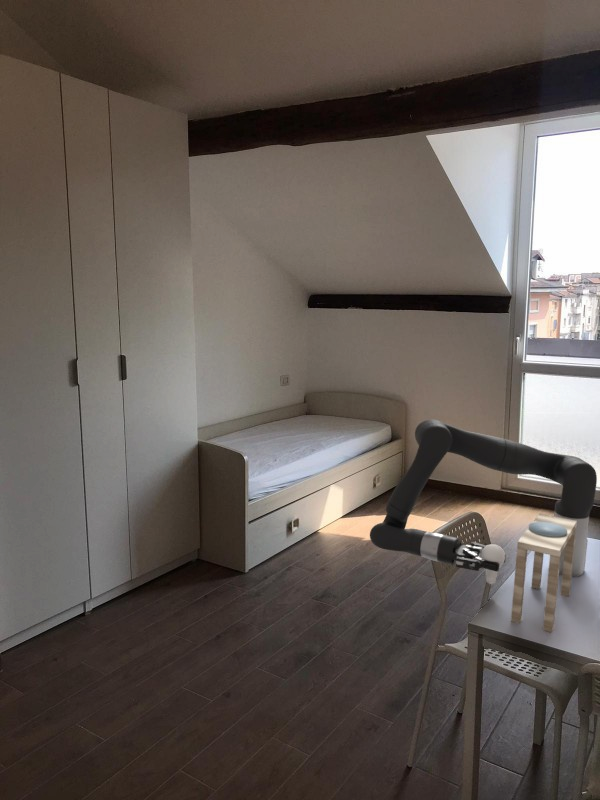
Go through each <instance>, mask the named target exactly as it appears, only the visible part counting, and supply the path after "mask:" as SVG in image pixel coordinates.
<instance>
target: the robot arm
mask: <svg viewBox="0 0 600 800" xmlns="http://www.w3.org/2000/svg"><path fill="white" fill-rule="evenodd" d="M414 437H415V441H416V444H417V445H418V449H417V452H416V454H415V457H414V460H413V461H412V463H411V465H410V467H409V468H408V470H407V471H406V473H405V474H404V475H403V476H402V477H401V479H399V481H398V483H397V484H396V486H395V488H394V490H393V491H392V494H391V496H390V497H389V499H388V502H387V503H386V506H385V512H386V515H385V518H384V519H383V521H382V522H380V523H377V524H375V525H374V526H372V528H370V531H369V539H370V541H371V543H372V544H373V545H374V546H375V547H377V548H379V549H382V550H386V551H387V550H388V551H394V552H404V553H408V554H411V555H414V556H418V557H422V558H425V559H428V560H430V561H435V562H438V563H442V564H446V565H450V566H455V567H456V568H458V569H459V568H460V569H466V570H471V571H476V572H478V571H480V570H484V569H489V570H493V571H498V570H500V569H499V563H498V562H492V561H488V560H485V561H484V559H482V558H481V552H482V550H483V548H484V547H485V546H486V545H485V544H481V543H479V542H475V541H471V542H470V544H462V541H461V539H460V538H458V537H456V536H452V535H446V534H442V533H438V532H430V531H425V530H422V529H418V528H407V527H406V526H407V523H408V519H409V517H410V516H411V513H412V512H413V509H414V507H415V505H416V503H417V501H418V499H419V497H420V495H421V493H422V492H423V489H424V487H425V486H426V484H427V482H428V480H429V479H430V477H431V476H432V474H433V473H434V471H435V470H436V468H437V467H438V465H439V464H440V463H441V461H442V460H443V459H444V457H445V456H446V455H447V453H451V454H455V455H457V456H462V457H464V458H465V459H468V460H470V461H472V462H474V463H476V464H478V465H480V466H483V467H485V468H488V469H492V470H494V471H498V472H502V473H506V474H510V475H522V476H523V475H532V476H533V475H534V476H538V477H542V478H545V479H548V480H550V481H553V482H554V483H555V482H556V483H558V484H559V485H561V486H562V490H561V497H560V499H558V500H556V502H555V504H554V517H560V518H565V519H570V520H575V521H577V526H576V536H575V546H574V556H573V566H572V576H571V577H579V576H582V575H583V574H584V571H585V569H586V561H587V552H588V551H587V550H588V543H589V541H588V531H589V521H590V512H591V510H592V508H593V506H594V502H595V497H596V496H595V495H596V491H597V481H598V477H597V476H598V475H597V471H596V469H595V467H594V466H592V465H591V464H590V463H588V462H586V460H583V459H582V458H580V457H577V456H573V455H569V454H562V453H561V454H559V453H554V452H547V451H544V450H541V449H537V448H535V447H532V446H530V445H526V444H523V443H521V442H517V441H514V440H511V439H507V438H502V437H498V436H493V435H488V434H484V433H478V432H473V431H469V430H465V429H462V428H459V427H455V426H453V425H451V424H448V423H445V422H442V421H440V420H437V419H426V420H423V421H421V422H420V423H419V424H418V425H417V426H416V427H415V429H414ZM564 553H565V547H564V549H563V551H562V553H561V556H560V567H559V575H561V576H562V574H563V563H564ZM506 560H507V555H506V554H505V561H504V563H503V564H505V563H506ZM498 572H499V571H498Z"/></svg>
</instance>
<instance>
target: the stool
mask: <svg viewBox="0 0 600 800" xmlns="http://www.w3.org/2000/svg"><path fill="white" fill-rule="evenodd" d="M576 526H577V521H575V520H570V519H565V518H560V517H554V516H553V515H547V514H543V513H538V515H537V516H536V517H535V518H534V520H533V521H532V522H531V523H529V525H528V528H527V529H526V530H525V532H524V533H523V534H522V535H521V536H520V538H519V539H518V541H517V544H516V545H517V546H516V555H515V556H516V558H515V569H514V579H513V580H514V581H513V590H512V591H513V593H512V605H511V616H510V622H512V623H516V624H520V623H521V621H522V618H523V617H522V615H523V605H524V594H525V582H526V573H527V572H526V571H527V559H528V551H530V552H531V551H532V552H534V553H533V554H534V555H533V556H534V557H533V565H532V576H531V587H532V588H533V589H535V588H536V590H540V588H541V585H542V574H543V563H544V554H545V555H548V556H549V561H548V570H547V571H548V573H547V581H546V582H547V584H546V585H547V586H546V594H545V605H544V614H543V615H544V616H543V626H542V627H543V628H542V631H545V632H548V633H553V632H554V631H553V630H554V626H555V616H556V615H555V614H556V607H557V596H558V585H559V576H560V574H559V567H560V556H561V553H562V551H563V549H564V547H565V553H564V563H563V574H562V575H561V585H560V595H561V596H562V597H563V596H564V597H570V594H571V587H572V586H571V584H572V577H573V576H572V566H573V556H574V546H575V536H576ZM531 587H530V588H531Z"/></svg>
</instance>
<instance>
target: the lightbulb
mask: <svg viewBox="0 0 600 800" xmlns="http://www.w3.org/2000/svg"><path fill="white" fill-rule="evenodd" d="M505 555H506V553H505V550H504V549H503V548H502V547H501V546H500V545H498V544H495V543H490V544H487V545H485V547H484V548H483V550H482V552H481V558H482V559H484V561H485V560H488V561H492V562H498V563H499V570H500V569H501V567H502V566H503V564H505V563H504V561H505ZM505 562H506V561H505ZM484 569H485V568H484ZM499 570H498V571H493V570H489V569H485V573H484V574H485V581H486V583H487V584H489V585H493V584H495V583H496V582H497V576H498V575H499Z"/></svg>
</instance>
